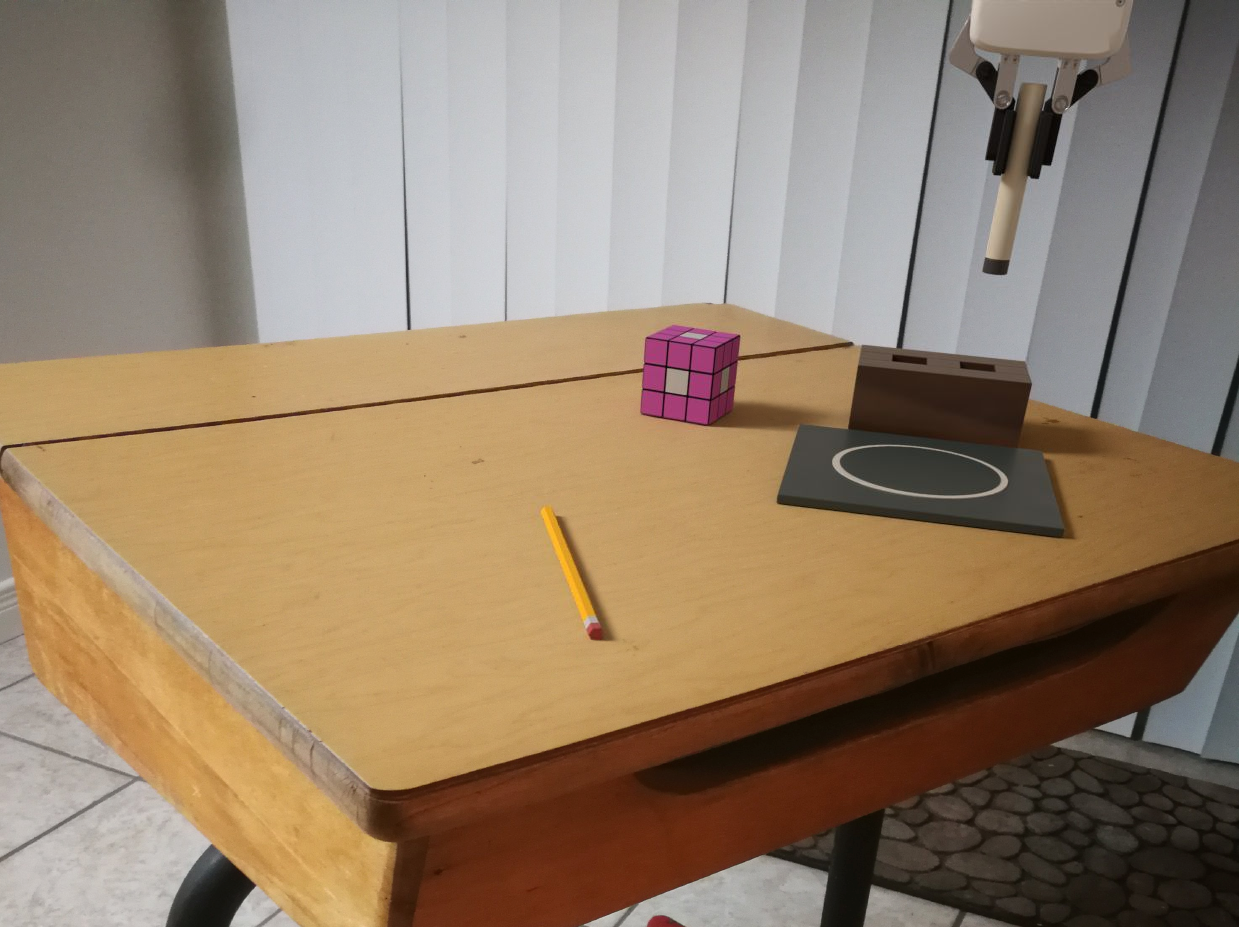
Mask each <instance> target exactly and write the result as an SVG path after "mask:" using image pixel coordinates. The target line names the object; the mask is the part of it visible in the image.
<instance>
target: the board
mask: <svg viewBox="0 0 1239 927" xmlns="http://www.w3.org/2000/svg"><path fill="white" fill-rule="evenodd" d="M788 457H789V458H788V460H787V463H786V466H785V468H784V469H785V470H784V473H783V476H782V479H781V483H780V486H779V488H778V492H777V497H776V504H780V505H788V506H789V505H790V506H798V507H805V508H813V509H814V508H815V509H821V510H822V509H823V510H831V511H839V512H845V513H846V512H847V513H856V514H865V515H873V516H879V517H887V518H888V517H889V518H896V519H905V520H911V521H912V520H914V521H920V522H929V523H939V524H946V525H955V526H963V527H972V528H980V529H987V530H994V531H995V530H996V531H1003V532H1011V533H1012V532H1013V533H1021V534H1029V535H1037V536H1044V537H1053V538H1063V537H1064V533H1065V525H1064V522H1063V519H1062V515H1061V512H1060V508H1059V506H1058V502H1057V498H1056V495H1055V491H1054V488H1053V483H1052V481H1051V478H1050V473H1049V470H1048V467H1047V464H1046V460H1045V456H1044V453H1043V451H1042V450H1036V449H1030V448H1019V447H1018V448H1012V447H1003V446H994V445H985V444H976V443H967V442H958V441H949V440H940V439H931V438H922V437H913V436H905V435H896V434H887V433H878V432H869V431H860V430H851V429H848V428H842V427H841V428H840V427H834V426H833V427H832V426H823V425H816V424H815V425H814V424H805V423H799V424H798V427H797V431H796V434H795V438H794V441H793V444H792V447H791V450H790V454H789V456H788Z"/></svg>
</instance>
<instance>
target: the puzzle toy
mask: <svg viewBox="0 0 1239 927" xmlns="http://www.w3.org/2000/svg"><path fill="white" fill-rule="evenodd" d="M740 346H741V335H740V334H738V333H731V332H726V331H725V332H724V331H716V330H713V329H712V330H711V329H705V328H699V327H698V328H697V327H696V328H694V327H691V326H685V325H678V324H672V325H670V326H668V327H665V328H662V329H661V330H659V331H658V330H657V331H656V332H654V333H651V334H649V335H647V336H646V337H644V351H643V367H642V378H641V379H642V380H641V396H640V410H639V413H640V414H641V415H644V416H650V417H655V418H661V419H663V418H664V419H668V420H672V421H679V422H687V423H690V424H696V425H702V426H709V425H712V424H713V423H715V422H716V421H718V420H719V419H720V418H722V417H724V416H725V415H726V414H729V412H731V411H732V410H733V409H734V402H735V393H736V383H737V375H738V374H737V373H738V366H739V365H738V364H739V361H738V360H739V356H740V348H741V347H740Z"/></svg>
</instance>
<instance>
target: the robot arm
mask: <svg viewBox="0 0 1239 927" xmlns="http://www.w3.org/2000/svg"><path fill="white" fill-rule="evenodd" d="M1133 4H1134V0H971V3H970V8H969V14H968V17H967V19H966V21H965V23H964V24H963V26H962V28H961V29H960V32H959V33H958V35H957V37H956V39H955V41H954V43H953V45H952V47H951V49H950V50H949V51H948V52H949V53H948V56H947V60H948V62H949V63H950V64H951V65H952V66H953V67H956V68H957V69H959V70H961V71H962V72H964V73H966V74H967V75H970V76H971V77H973V78H974V79H976V80H977V81H978V82H979V84H980V85H981V87H982V89H983V90H984V92H985V93H986V95H987V96H988V98H989V100H990V101H991V103H992V104H993V106H994V110H993V115H992V120H991V125H990V131H989V136H988V140H987V145H986V150H985V157H984V160H985V161H990V162H993V163H992V168H991V169H992V170H991V173H992V175H993V176H999V177H1001V176H1002V174H1004V173H1005V169H1006V164H1007V159H1008V155H1009V150H1010V145H1011V140H1012V135H1013V130H1014V125H1015V121H1016V115H1017V112H1015V107H1016V103H1017V99H1015V97H1014V91H1015V86H1016V82H1017V75H1018V71H1019V65H1020V59H1021V56H1028V57H1040V58H1051V59H1053V58H1054V59H1057V64H1056V68H1055V72H1054V78H1053V81H1052V86H1051V90H1050V94H1049V98H1048V99H1047V100H1046V101H1044V104H1043V109H1042V113H1041V115H1040V120H1039V125H1038V129H1037V134H1036V139H1035V144H1034V148H1033V153H1032V158H1031V162H1030V167H1029V172H1028V177H1029V178H1030V179H1032V180H1039V179H1040V176H1041V172H1042V168H1043V166H1046V167H1051V166H1052V164H1053V160H1054V157H1055V150H1056V147H1057V143H1058V142H1057V141H1058V138H1059V133H1060V128H1061V125H1062V119H1063V115H1064V114H1065V113H1066V112H1068V111H1069V109H1070V108H1071V107H1072V106H1074V105H1075V104H1076V103H1077V102H1078V101H1080V100H1081V99H1082V98H1083V97H1085V95H1087V94H1088V93H1089V92H1090V91H1092V90H1093V89H1095V88H1099V87H1101V86H1104V85H1107V84H1111V83H1113V82H1117V81H1119V80H1122V79H1126V78H1127V77H1128V76H1130V74H1131V73H1132V69H1133V65H1132V55H1131V46H1130V37H1129V28H1128V27H1129V22H1130V18H1131V13H1132V9H1133ZM975 48H977V49H979V50H981V51H985V52H989V53H993V54H999V57H998V62H997V68H995V66H994V64H993V63H992V62H991V61H989V60H988V59H985V58H984V57H982V56H980V55H979V54H977V53H976V50H975ZM1105 59H1106V60H1105ZM1098 60H1105V61H1104V62H1102V63H1099V64H1096V65H1095V66H1092V67H1089V68H1084V69H1083V70H1082V71H1080V72H1079V70H1080V66H1081V61H1098Z"/></svg>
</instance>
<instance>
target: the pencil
mask: <svg viewBox="0 0 1239 927" xmlns="http://www.w3.org/2000/svg"><path fill="white" fill-rule="evenodd" d="M540 514H541V517H542V519H543V522H544V525H545V527H546V530H547V532H548V534H549V537H550V540H551V542H552V546H553V547H554V550H555V553H556V555H557V558H558V560H559V564H560V566H561V569H562V571H563V574H564V576H565V578H566V581H567V584H568V586H569V589H570V591H571V592H570V593H571V594H572V597H573V599H574V602H575V604H576V607H577V609H578V612H579V614H580V618H581V620H582V622H583V625H584V628H585V630H586V632H587V635H588V637H589V639H590V640H591V641H600V640H601V639H602V638H603V636H604V635H605V633H604V630H603V627H602V626H601V623H600V621H599V618H598V615H597V614H596V611H595V608H594V606H593V603H592V601H591V599H590V596H589V594H588V592H587V589H586V587H585V584H584V582H583V579H582V577H581V575H580V571H579V569H578V568H577V565H576V562H575V560H574V558H573V554H572V553H571V550H570V548H569V545H568V543H567V540H566V538H565V535H564V533H563V531H562V528H561V525H560V524H559V522H558V518H557V516H556V514H555V512H554V510H553V507H552V506H551V505H543V507H542V509H541V510H540Z"/></svg>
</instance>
